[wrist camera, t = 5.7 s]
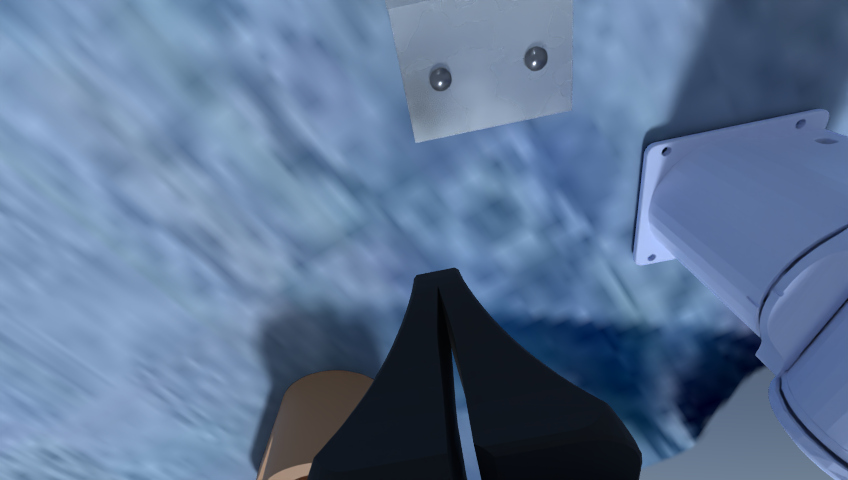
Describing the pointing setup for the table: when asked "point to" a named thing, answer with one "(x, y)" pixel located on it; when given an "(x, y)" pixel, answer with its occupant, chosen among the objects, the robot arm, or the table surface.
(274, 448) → the bracket
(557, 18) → the hinge
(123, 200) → the table surface
